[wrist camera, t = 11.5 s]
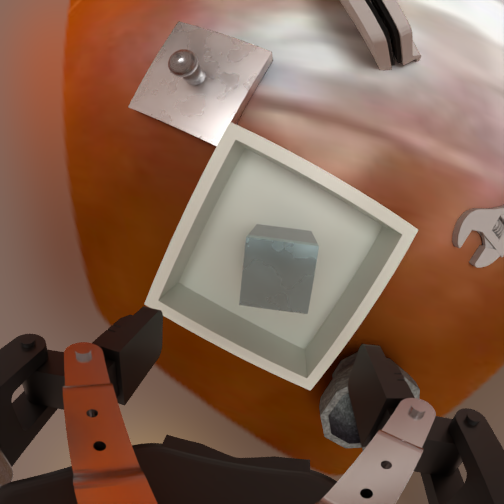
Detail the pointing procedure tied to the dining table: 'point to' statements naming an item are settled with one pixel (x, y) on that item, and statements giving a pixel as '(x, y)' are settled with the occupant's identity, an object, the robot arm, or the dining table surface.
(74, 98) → the dining table surface
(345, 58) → the dining table surface
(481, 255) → the adjustable wrench
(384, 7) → the napkin holder
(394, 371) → the robot arm
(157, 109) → the stud plate
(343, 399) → the mortar and pestle
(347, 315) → the bin
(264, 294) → the grey rectangular block
